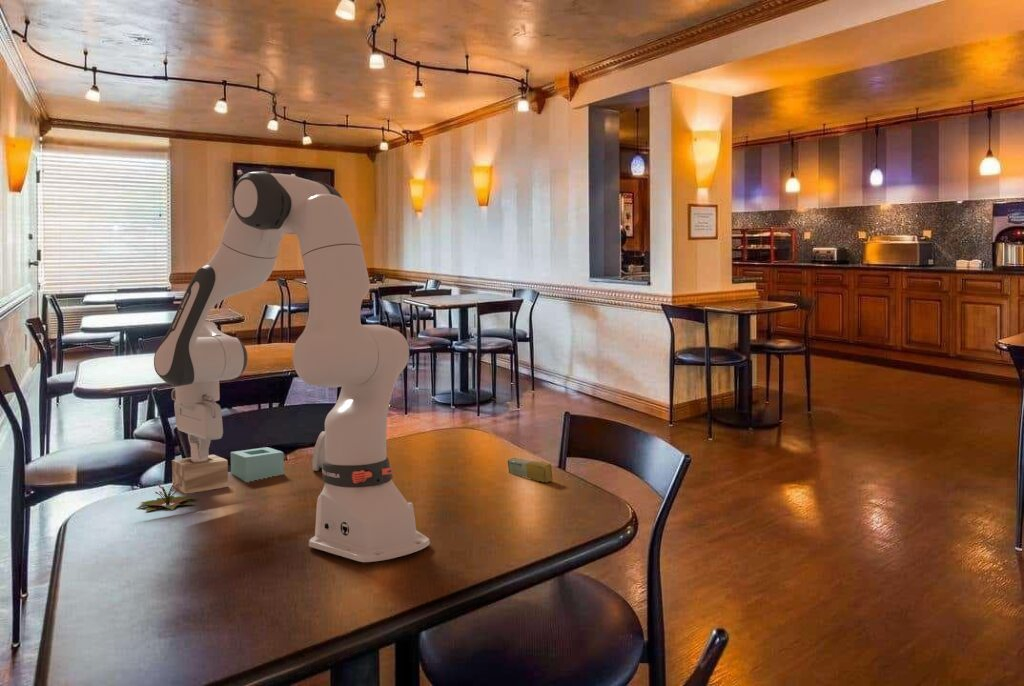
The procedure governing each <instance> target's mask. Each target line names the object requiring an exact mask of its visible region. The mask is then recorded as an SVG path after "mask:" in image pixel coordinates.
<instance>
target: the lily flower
mask: <svg viewBox="0 0 1024 686" xmlns="http://www.w3.org/2000/svg"><path fill="white" fill-rule="evenodd" d="M174 483H175V482H174ZM174 483H173V482H172V485H171V487H170V489H165V487H164V486H161V485H160V484H157V486H158V487H159V488H160V489H161V490H162V491H159V492H158V491H155V492H154V493H155V494H157V495H159V496H160V497H157V498H156V499H152V500H146V501H140V503H141V504H140V505H139V506H138V507H136V509H139V508H145V507H146V510H145V511H146V513H147V512H150V511H154V510H157V509H160V507H159V508H158V506H162V509H164V508H166V509H170V510H171V511H173V510H174V509H175V508H176V507H177V506H180V505H181V506H190V505H195V506H196V504H195V503H194V502H193V501H194V500H197V498H195V497H192V496H188V495H182V496H174V495H175V494H176V493H178V492H179V490H178V489H177V490H176V491H175V489H176V488H175V487H176V486H177V485H179V484H177V485H176V486H175V487H174ZM167 488H169V486H167ZM172 492H173V493H172Z"/></svg>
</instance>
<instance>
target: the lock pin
mask: <svg viewBox="0 0 1024 686" xmlns="http://www.w3.org/2000/svg"><path fill="white" fill-rule="evenodd" d="M199 445H200V442H199V441H195V442H191V446H190V458H191V463H197V462H204V461H208V456H207V457H200V456H198V449H199Z"/></svg>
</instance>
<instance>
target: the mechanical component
mask: <svg viewBox="0 0 1024 686" xmlns="http://www.w3.org/2000/svg"><path fill="white" fill-rule="evenodd" d="M315 442H316V443H315V445H314V449H313V454H312V463H311V464H312V465H311V466H312V471H313V470H314V472H315V471H316V472H317V471H320V469H322V468H323V462H324V461H325V430H324V431H321V432H320V433H319V435H318V437H317V439H316V441H315Z"/></svg>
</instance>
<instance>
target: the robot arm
mask: <svg viewBox="0 0 1024 686" xmlns="http://www.w3.org/2000/svg"><path fill="white" fill-rule="evenodd" d="M232 192H233V193H232V206H233V207H232V209H231V211H230V214H229V216H228V218H227V220H226V223H225V226H224V230H223V232H222V235H221V239H220V242H219V245H218V247H217V249H216V251H215V253H214V254H213V255H212V257H211V259H210V260H209V261H208V262H207V263H206V264H204V265H203V266H202V267H200V268H198V269H197V270H196V271H195V273H194V274H193V276H192V278H191V280H190V281H189V283H188V286H187V288H186V290H185V292H184V295H183V297H182V299H181V301H180V304H179V306H178V308H177V310H176V313H175V315H174V317H173V319H172V322H171V324H170V326H169V328H168V331H167V332H166V334H165V336H163V339H162V340H161V342H160V343H159V344H158V346H157V348H156V350H155V353H154V356H153V367H154V370H155V373H156V375H158V377H160V379H162V381H164V382H165V383H167V385H169V386H172V387H174V388H173V389H172V391H171V399H172V400H173V401H174V403H173V405H174V406H173V407H174V408H173V409H174V418H175V425H176V428H177V430H178V431H179V432H183V433H185V434H187V438H188V442H189V446H190V447H191V442H195V441H199V442H200V445H199V449H198V456H200V457H207V456H208V455H210V454H209V453H210V452H209V448H210V444H211V441H213V440H220V439H222V438H223V435H224V427H223V416H222V415H223V414H222V409H221V405H220V404H219V403H217V402H218V401H220V396H221V395H220V394H221V393H220V381H229V380H233V379H237V378H239V377H241V375H242V374H243V373H244V372H245V370H246V368H247V364H248V351H247V347H246V346H245V345H244V343H243V341H241V340H240V339H239V338H238V337H235V336H231V335H228V334H226V333H225V332H223V331H221V330H219V329H218V327H217V325H216V323H215V322H214V321H211V320H206V319H207V317H208V314H209V313H210V311H211V310H212V308H213V307H215V306H216V305H217V304H219V303H221V302H222V301H224V300H226V299H229V298H231V297H233V296H237V295H239V294H242V293H243V294H244V293H245V292H250V291H252V290H254V289H256V288H258V287H261V286H262V285H263V284H265V283H266V281H268V279H269V278H270V276H271V274H272V273H273V271H274V269H275V268H274V267H275V266H276V261H277V257H278V254H279V250H280V247H281V246H280V245H281V242H282V239H283V236H284V235H285V234H286V235H287V234H288V235H296V236H297V239H298V243H299V248H300V254H301V259H302V262H303V263H302V265H303V268H304V274H305V279H306V285H307V291H308V299H309V301H308V302H309V304H308V305H309V306H308V309H309V310H308V316H307V321H306V324H305V327H304V329H303V331H302V332H301V334H300V335H299V336H298V338H297V339H296V341H295V343H294V345H293V350H292V356H291V357H292V364H293V368H294V370H295V373H296V374H297V376H298V377H299V378H300V380H301V381H303V382H304V383H306V384H308V385H311V386H316V387H321V388H329V389H331V388H332V389H334V388H341V389H340V391H339V396H338V399H337V401H336V403H335V405H334V406H333V407H332V409H330V411H329V412H328V413H327V415H326V416H325V419H324V431H325V461H324V462H323V468H321V471H322V472H321V474H322V481H323V482H324V485H323V488H322V491H321V492H320V494H319V495H318V497H317V498H316V499H317V500H316V511H315V513H316V514H315V530H314V536H313V537H311V538H310V539H309V540H308V547H310V548H313V549H316V550H318V551H319V550H320V551H324V552H326V553H329V554H333V555H335V556H341V557H343V558H346V559H349V560H353V561H356V562H361V563H371V562H372V563H373V562H379V561H387V560H391V559H395V558H398V557H403V556H407V555H411V554H412V553H415V552H418V551H421V550H423V549H425V548H426V547H428V546H429V545H430V544H431V543H430V539H429V537H427V536H426V535H425V534H423V533H421V532H419V531H418V530H417V527H416V525H417V524H416V518H415V508H414V504H413V502H409V501H407V499H406V498H405V497H404V496H403V494H402V493H401V491H400V490H399V488H398V487H397V486H396V485H395V483H394V481H393V480H392V479H393V478H394V477H393V474H395V472H394V471H392V470H394V469H395V467H393V466H392V464H391V463H390V460H389V457H388V456H387V423H388V421H387V420H388V412H389V407H390V402H391V399H392V395H393V391H394V388H395V385H396V383H397V380H398V378H399V376H400V375H401V373H402V372H403V370H405V368H406V367H407V364H408V363H409V359H410V348H409V347H410V346H409V343H408V341H407V339H406V337H405V336H404V334H402V333H401V332H400V331H398V330H397V329H394V328H391V327H388V326H385V325H381V324H362V323H361V307H362V303H363V300H364V299H365V298H366V297H367V296H368V294H369V292H370V291H371V282H370V277H369V273H368V268H367V267H368V266H367V264H366V263H367V262H366V259H365V254H364V250H363V246H362V242H361V237H360V234H359V230H358V228H357V225H356V222H355V220H354V216H353V215H352V212H351V209H350V207H349V205H348V203H347V202H346V201H345V200H344V199H343V197H342V195H341V193H340V192H339V191H338V190H337V189H336V188H334V187H333V186H331V185H329V184H327V183H325V182H321V181H314V180H312V179H311V180H310V179H306V178H303V177H299V176H296V175H293V174H286V173H285V174H284V173H273V172H272V173H271V172H268V171H262V170H261V171H251V172H246V173H244V174H243V175H242V176H240V178H239V179H238V180H237V182H236V183H235V186H234V188H233V191H232Z"/></svg>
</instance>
